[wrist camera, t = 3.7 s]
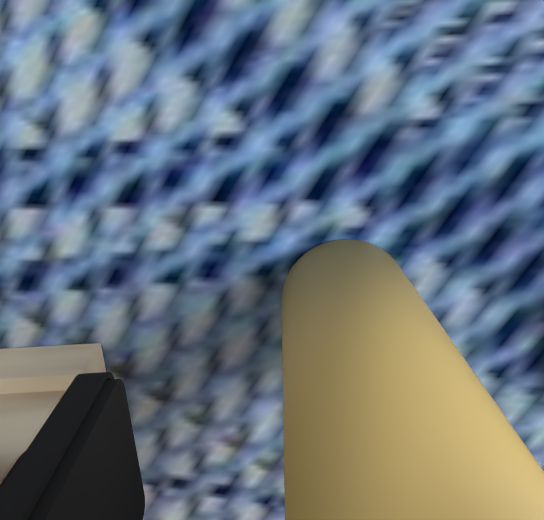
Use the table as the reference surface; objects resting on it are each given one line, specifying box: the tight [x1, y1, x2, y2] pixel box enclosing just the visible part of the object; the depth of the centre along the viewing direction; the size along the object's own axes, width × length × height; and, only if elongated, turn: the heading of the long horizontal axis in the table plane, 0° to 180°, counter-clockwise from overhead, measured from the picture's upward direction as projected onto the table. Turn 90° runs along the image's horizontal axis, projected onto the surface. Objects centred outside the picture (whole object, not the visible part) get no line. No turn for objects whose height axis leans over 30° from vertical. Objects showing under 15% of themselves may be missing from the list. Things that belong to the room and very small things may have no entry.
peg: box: [282, 239, 544, 520], centre depth 11 cm, size 4×4×12 cm
